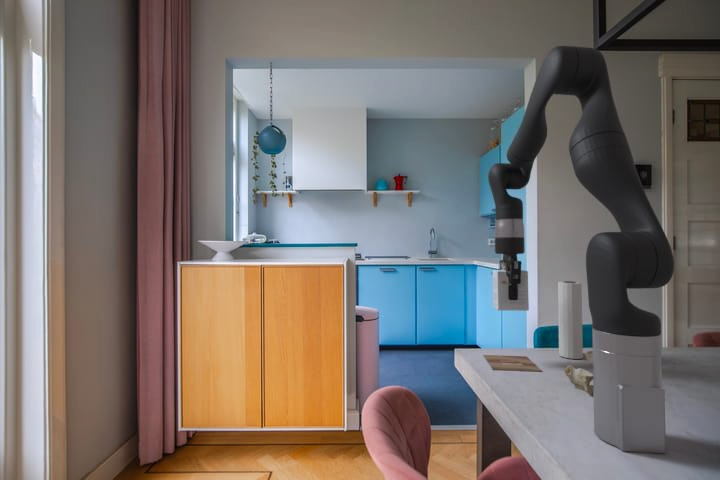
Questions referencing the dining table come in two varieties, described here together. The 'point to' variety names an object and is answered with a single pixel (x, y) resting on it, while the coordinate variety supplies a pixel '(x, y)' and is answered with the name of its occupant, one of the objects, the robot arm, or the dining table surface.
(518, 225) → the robot arm
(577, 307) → the paper towel roll
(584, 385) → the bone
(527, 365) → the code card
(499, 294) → the small box
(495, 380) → the dining table surface
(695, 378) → the dining table surface
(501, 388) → the dining table surface
